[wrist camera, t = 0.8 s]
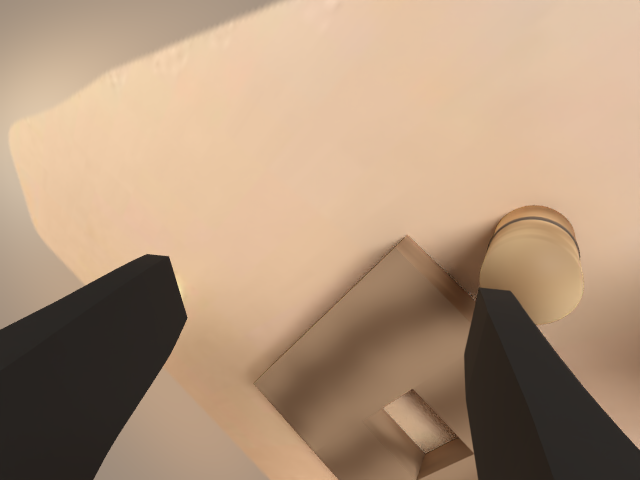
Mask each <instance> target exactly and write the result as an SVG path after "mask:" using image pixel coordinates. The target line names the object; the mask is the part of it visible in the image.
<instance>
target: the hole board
mask: <svg viewBox="0 0 640 480" xmlns="http://www.w3.org/2000/svg"><path fill="white" fill-rule="evenodd" d="M475 303H476V302H475V301H474V300H473V299H472V298H471V297H470V296H469V295H468V294H467V293H466V292H465V291H464V290H463V289H462V288H461V287H460V286H459V285H458V284H457V283H456V282H455V281H454V280H453V279H452V278H451V277H450V276H449V275H448V274H447V273H446V272H445V271H444V270H443V269H442V268H441V267H440V266H439V265H438V264H437V263H436V262H434V261H433V260H432V259H431V258H430V257H429V256H428V255H427V254H426V253H425V252H424V251H423V250H422V249H421V248H420V247H419V246H418V245H417V244H416V243H415V242H414V241H413V240H412V239H411V238H410V237H409V236H408V235H407V236H406V237H405V238H404V239H403V240H402V241H401V242H400V243H399V244H398V245H397V246H396V247H394V248H393V249H392V250H391V251H390V252H389V253H388V254H387V255H386V256H385V257H384V258H383V259H382V260H381V261H380V262H379V263H378V264H377V265H376V266H375V267H374V268H373V269H372V270H371V271H370V272H368V273H367V274H366V275H365V276H364V277H363V278H362V279H361V280H360V281H359V282H358V283H357V284H356V285H355V286H354V287H353V288H352V289H351V290H350V291H349V292H348V293H347V294H346V295H345V296H344V297H342V298H341V299H340V300H339V301H338V302H337V303H336V304H335V305H334V306H333V307H332V308H331V309H330V310H329V311H328V312H327V313H326V314H325V315H324V316H323V317H322V318H321V319H320V320H319V321H318V322H316V323H315V324H314V325H313V326H312V327H311V328H310V329H309V330H308V331H307V332H306V333H305V334H304V335H303V336H302V337H301V338H300V339H299V340H298V341H297V342H296V343H295V344H294V345H293V346H292V347H290V348H289V349H288V350H287V351H286V352H285V353H284V354H283V355H282V356H281V357H280V358H279V359H278V360H277V361H276V362H275V363H274V364H273V365H272V366H271V367H270V368H269V369H268V370H267V371H266V372H265V373H264V374H263V375H262V376H261V377H260V378H259V379H258V380H257V381H256V382H255V383H254V385H255V386H256V387H257V388H258V389H259V390H260V392H261V393H262V394H263V395H264V396H265V397H266V398H267V399H268V401H269V402H270V403H271V404H272V405H273V406H274V407H275V408H276V410H277V411H278V412H279V413H280V414H281V415H282V416H283V417H284V419H285V420H286V421H287V422H288V423H289V424H290V425H291V426H292V428H293V429H294V430H295V431H296V432H297V433H298V434H299V435H300V437H301V438H302V439H303V440H304V441H305V442H306V443H307V445H308V446H309V447H310V448H311V449H312V450H313V451H314V452H315V454H316V455H317V456H318V457H319V458H320V459H321V460H322V461H323V463H324V464H325V465H326V466H327V467H328V468H329V469H330V470H331V472H332V473H333V474H334V475H335V476H336V477H337V478H338V479H339V480H478V476H477V469H476V463H475V457H474V450H473V444H472V438H471V431H470V425H469V418H468V411H467V405H466V395H465V370H464V352H465V348H466V343H467V339H468V334H469V330H470V326H471V321H472V317H473V312H474V308H475ZM412 389H413V390H414V391H415V392H416V393H417V394H418V395H419V396H420V397H421V398H422V399H423V400H424V401H425V402H426V403H427V404H428V405H429V407H430V408H431V409H432V410H433V411H434V412H435V413H436V414H437V415H438V416H439V417H440V418H441V419H442V420H443V421H444V422H445V423H446V424H447V425H448V426H449V428H450V429H451V430H452V431H453V432H454V433H455V434H456V435H457V436H458V438H456V439H454V440H452V441H450V442H448V443H446V444H444V445H442V446H440V447H439V448H437V449H435V450H433V451H431V452H429V453H427V454H425V453H424V452H423V451H422V450H421V449H420V448H419V447H418V446H417V445H416V444H415V443H414V442H413V441H412V440H411V438H410V437H409V436H408V435H407V434H406V433H405V432H404V431H403V430H402V429H401V428H400V427H399V426H398V424H397V423H396V422H395V421H394V420H393V419H392V418H391V417H390V416H389V415H388V414H387V413H386V412H385V411H384V409H383V408H384V407H385V406H387V405H388V404H390V403H391V402H393V401H395V400H396V399H398V398H399V397H401V396H402V395H404V394H405V393H407V392H409V391H410V390H412Z"/></svg>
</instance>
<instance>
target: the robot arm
mask: <svg viewBox="0 0 640 480" xmlns="http://www.w3.org/2000/svg"><path fill="white" fill-rule="evenodd" d="M186 320H187V315H186V311H185V308H184V305H183V301H182V298H181V295H180V291H179V288H178V285H177V282H176V278H175V275H174V272H173V268H172V265H171V262H170V258H169V256H160V255H150V254H146V255H144V256H142V257H139V258H137V259H135V260H133V261H131V262H129V263H127V264H125V265H123V266H121V267H119V268H117V269H115V270H114V271H112V272H110V273H108V274H106V275H104V276H102V277H101V278H99V279H97V280H95V281H93V282H91V283H89V284H88V285H86V286H84V287H82V288H80V289H78V290H77V291H75V292H73V293H71V294H69V295H67V296H65V297H64V298H62V299H60V300H58V301H56V302H54V303H52V304H50V305H48V306H46V307H44V308H42V309H40V310H38V311H36V312H35V313H32V314H31V315H29V316H27V317H25V318H23V319H21V320H19V321H17V322H15V323H13V324H11V325H9V326H7V327H5V328H3V329H1V330H0V480H93V479H94V477H95V475H96V473H97V472H98V470H99V468H100V466H101V464H102V462H103V460H104V458H105V457H106V455H107V453H108V451H109V450H110V448H111V446H112V445H113V443H114V441H115V440H116V438H117V436H118V435H119V433H120V432H121V430H122V429H123V427H124V425H125V424H126V422H127V421H128V419H129V418H130V416H131V415H132V413H133V412H134V410H135V409H136V407H137V406H138V404H139V402H140V401H141V399H142V398H143V396H144V395H145V393H146V392H147V390H148V389H149V387H150V386H151V384H152V382H153V381H154V379H155V378H156V376H157V375H158V373H159V372H160V370H161V369H162V367H163V365H164V364H165V362H166V361H167V359H168V357H169V356H170V354H171V352H172V350H173V348H174V346H175V344H176V342H177V340H178V338H179V336H180V333H181V331H182V329H183V327H184V324H185V322H186ZM464 370H465V395H466V405H467V411H468V418H469V425H470V431H471V438H472V444H473V450H474V457H475V463H476V469H477V476H478V480H640V450H639V449H638V448H637V447H636V446H635V445H634V444H633V442H632V441H631V440H630V439H629V438H628V437H627V436H626V435H625V434H624V433H623V432H622V430H621V429H620V428H619V427H618V426H617V425H616V424H615V423H614V421H613V420H612V419H611V418H610V417H609V416H608V415H607V413H606V412H605V411H604V410H603V409H602V408H601V407H600V406H599V404H598V403H597V402H596V401H595V400H594V398H593V397H592V396H591V395H590V394H589V393H588V391H587V390H586V389H585V388H584V387H583V385H582V384H581V383H580V382H579V380H578V379H577V378H576V377H575V375H574V374H573V373H572V372H571V370H570V369H569V368H568V367H567V365H566V364H565V363H564V362H563V360H562V359H561V358H560V357H559V355H558V354H557V353H556V351H555V350H554V349H553V348H552V346H551V345H550V344H549V342H548V341H547V340H546V338H545V337H544V336H543V334H542V333H541V332H540V330H539V329H538V328H537V326H536V325H535V323H534V322H533V321H532V319H531V318H530V316H529V315H528V314H527V312H526V311H525V309H524V308H523V307H522V305H521V304H520V302H519V301H518V300H517V298H516V297H515V295H514V294H513V293H512V292H511V291H509V290H499V289H489V288H479V290H478V294H477V299H476V303H475V308H474V312H473V317H472V321H471V326H470V330H469V334H468V339H467V343H466V348H465V352H464Z"/></svg>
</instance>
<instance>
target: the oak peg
mask: <svg viewBox="0 0 640 480" xmlns="http://www.w3.org/2000/svg"><path fill="white" fill-rule="evenodd" d="M479 283H480V288H489V289H499V290H509V291H511V292H512V293H513V294H514V295H515V297H516V298H517V300H518V301H519V302H520V304H521V305H522V307H523V308H524V309H525V311H526V312H527V314H528V315H529V316H530V318H531V319H532V321H533V322H534V323H535V325H542V324H548V323H552V322H555V321H558V320H560V319H562V318H564V317H565V316H567V315H568V314H570V313H571V312H572V311H573V310H574V309H575V307H576V306H577V305H578V303H579V301H580V300H581V297H582V294H583V289H584V280H583V274H582V269H581V264H580V252H579V248H578V244H577V242H576V238H575V233H574V230H573V228H572V226H571V224H570V222H569V221H568V220H567V219H566V218H565V217H564V216H563V215H562V214H560V213H559V212H557V211H555V210H553V209H551V208H548V207H544V206H525V207H521V208H518V209H515V210H513V211H511V212H510V213H508V214H507V215H506V216H505V217H504V218H502V220H501V221H500V222H499V224H498V225H497V227H496V230H495V232H494V235H493V237H492V238H491V240H490V243H489V245H488V249H487V254H486V256H485V259H484V261H483V264H482V267H481V270H480V276H479Z"/></svg>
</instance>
